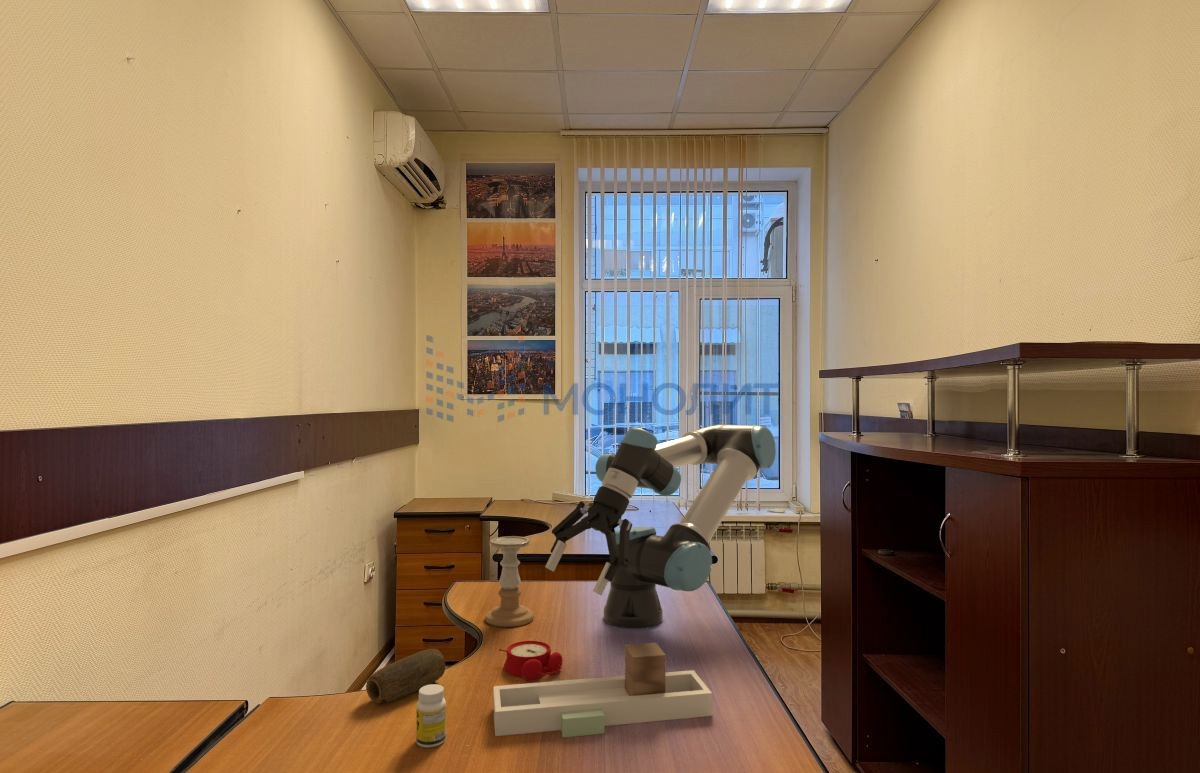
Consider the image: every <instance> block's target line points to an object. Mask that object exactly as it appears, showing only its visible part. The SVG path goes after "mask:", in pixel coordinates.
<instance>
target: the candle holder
mask: <svg viewBox="0 0 1200 773" xmlns="http://www.w3.org/2000/svg"><path fill="white" fill-rule="evenodd" d="M530 544H531V539H530V538H528V537H524V536H517V535H516V536H515V535H511V536H509V535H508V536H500V537H498V536H497V537H494V538H492V539H490V540H489V546H490V547H493V548H497V549H499V550H500V552H501V553H502V555H503V556H502V557H503V558H502V560H501V561H500V563H499V565H500V566H501V567H502V569H501V575H500V578H499V580H498V584H499V586H500V587H501V588H500V589H499V590H498V592H497V593H498V596H499V597H500V598H501V599H500V605H497V606H495V607H493V608H492V609H491V610H489V611H488V612H486V614H485V616H484V617H485V619H484V620H485V622H486V623H487V624H489V625H492V626H495V627H499V628H501V627H502V628H508V627H509V628H511V627H512V628H513V627H521V626H525V625H526V624H530V623H531V622H532V621H533V620H534V617H535V615H534V612H533V610H531V609H530V608H528V607H527V606H525V605H522V604H520V600H519V597H520V596H521V594H522V590H521V589H520V588H519V587H520V585H521V583H522V582H521V577H520V574H519V568H518V566H519V565H520V564H521V561H520V560H519V559H518V558H517V556H518V553H519V552H520V551H521V549H522V548H525V547H527V546H530Z"/></svg>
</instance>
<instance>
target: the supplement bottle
mask: <svg viewBox="0 0 1200 773" xmlns="http://www.w3.org/2000/svg"><path fill="white" fill-rule="evenodd" d="M444 696H445V688H444V686H443V685H440V684H437V683H436V684H434V683H431V684H429V685H426V686H423V687H422V688H420V689H419V690H418V701H417V703H416V716H415V717H416V721H415V722H416V725H415V726H416V732H415V734H416V735H415V736H416V737H415V738H416V744H417V745H418V747H422V748H434V747H435V748H436V747H438V746H441V745H442V744H443V743H445V741H446V738H447V701H446V699H445V697H444Z"/></svg>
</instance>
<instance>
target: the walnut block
mask: <svg viewBox="0 0 1200 773" xmlns="http://www.w3.org/2000/svg"><path fill="white" fill-rule="evenodd" d="M665 673H666V653H665V652H664V651H663V650H662V649H661V647H660V646H659V644H658V643H657V642H650V643H649V642H647V643H635V644H632V643H631V644H625V645H624V676H625V690H626V692H627V693H628V695H629V696H638V695H649V694H661V693H665Z"/></svg>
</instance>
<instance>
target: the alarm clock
mask: <svg viewBox="0 0 1200 773" xmlns="http://www.w3.org/2000/svg"><path fill="white" fill-rule="evenodd" d="M498 652H505V653H506V659H505V662H504V664H503V671H504V672H505V673H507V674H508V675H510V676H514V677H518V678H519V677H520V678H523V679H524V680H526V681H529V682H534V681H537V680H538V679H540V678H541V676H544V675H555V674H558V673H559V672H560V671H562V669H563V668H562V666H563V656H562V654H561V653H560V652H558V651H554V652H552V649H551V646H550V644H548V643H546V642H543V641H537V640H523V641H518V642H514V643H513V644H511V645H509V646H508V647H507V649H506V650H505V649H501V648H498Z"/></svg>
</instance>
